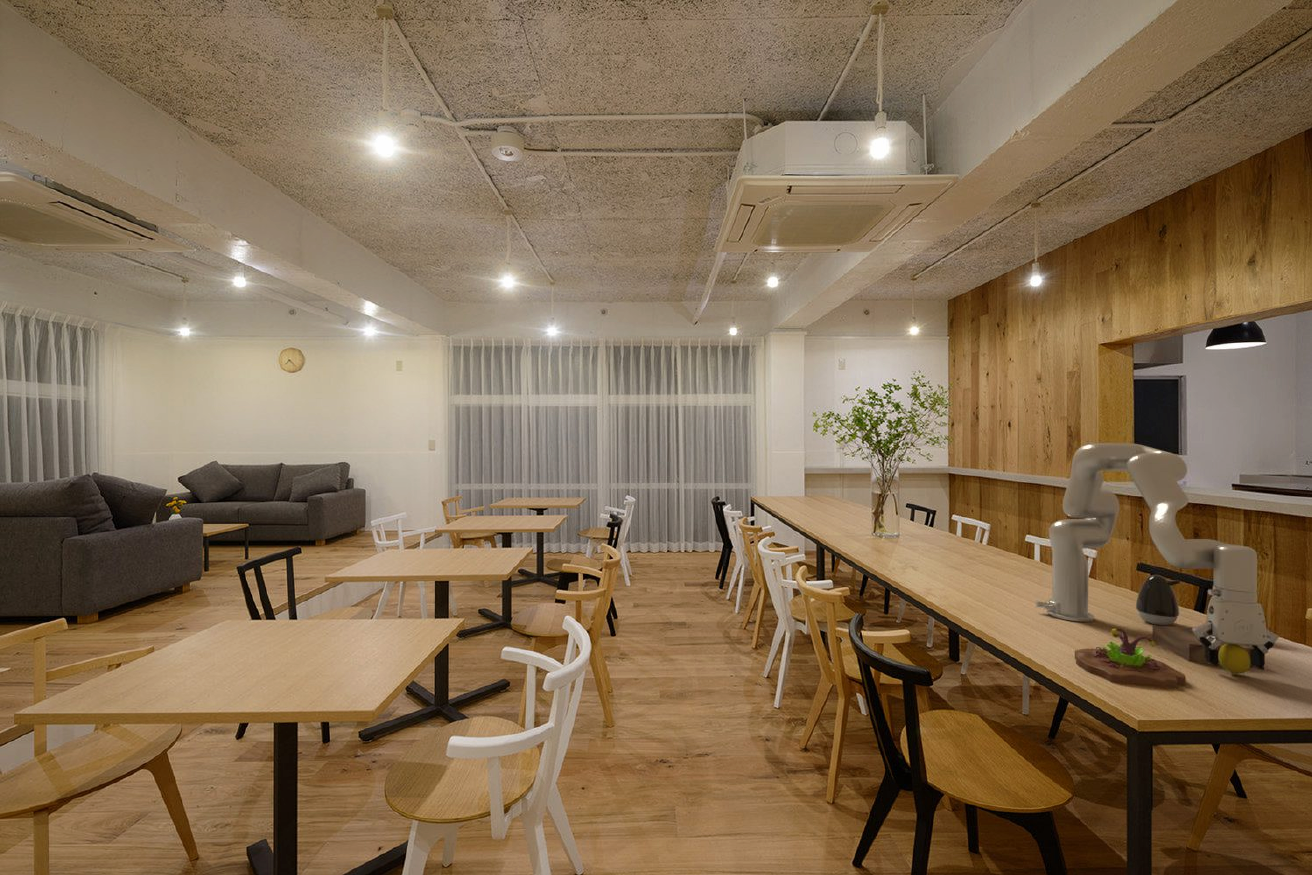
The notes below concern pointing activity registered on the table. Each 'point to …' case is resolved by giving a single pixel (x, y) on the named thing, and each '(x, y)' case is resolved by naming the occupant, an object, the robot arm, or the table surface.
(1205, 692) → the table surface
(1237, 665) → the lemon
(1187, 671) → the table surface
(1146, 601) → the pump dispenser
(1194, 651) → the walnut block
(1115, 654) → the plant
